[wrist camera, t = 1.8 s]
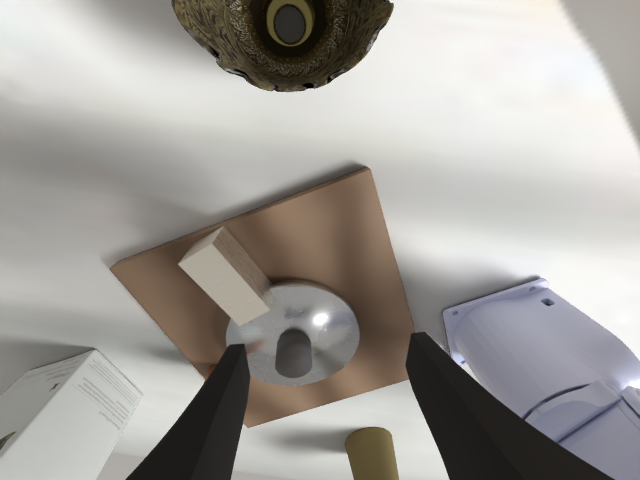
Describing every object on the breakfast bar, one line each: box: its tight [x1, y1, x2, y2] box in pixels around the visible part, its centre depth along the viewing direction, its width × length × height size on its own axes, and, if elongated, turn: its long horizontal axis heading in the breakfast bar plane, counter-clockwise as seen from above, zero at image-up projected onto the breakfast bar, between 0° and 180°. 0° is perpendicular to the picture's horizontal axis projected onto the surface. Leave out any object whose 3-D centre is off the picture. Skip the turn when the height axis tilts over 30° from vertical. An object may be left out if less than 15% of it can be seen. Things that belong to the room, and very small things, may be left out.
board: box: [109, 167, 415, 428], centre depth 22 cm, size 20×22×5 cm
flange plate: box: [178, 226, 359, 386], centre depth 21 cm, size 16×11×3 cm, turn 30°
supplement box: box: [0, 350, 142, 480], centre depth 20 cm, size 7×7×13 cm
